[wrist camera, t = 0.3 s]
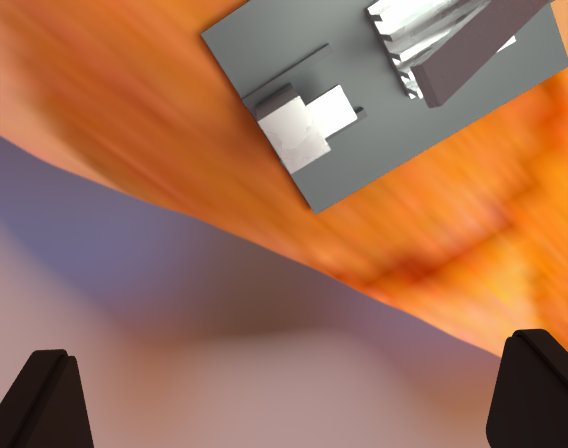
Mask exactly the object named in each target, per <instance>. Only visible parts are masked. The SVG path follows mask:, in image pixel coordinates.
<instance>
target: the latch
mask: <svg viewBox="0 0 568 448" xmlns="http://www.w3.org/2000/svg"><path fill="white" fill-rule="evenodd" d="M255 107H256V115H257V122H258V123H259V125H260V127H261V128H262V130H263V131H264V133H265V134H266V136H267V138H268V139H269V141H270V142H271V144H272V145H273V147H274V149H275V150H276V152H277V153H278V155H279V156H280V158H281V160H282V161H283V163H284V164H285V166H286V167H287V169H288V171H289V172H290V174H292V173H294V172H296V171H297V170H299V169H300V168H302V167H304V166H305V165H307V164H309V163H310V162H312V161H314V160H315V159H317V158H319V157H320V156H322V155H324V154H325V153H327V152H328V151H330V150H331V149H330V147H329V146H328V144H327V142H326V140H325V138H326V137H328V136H330V135H331V134H333V133H335V132H336V131H338V130H339V129H341V128H343V127H344V126H346V125H348V124H349V123H351V122H353V121H354V120H356V119H357V117H356V115H355V113H354V111H353V109H352V107H351V106H350V104H349V102H348V100H347V98H346V96H345V94H344V93H343V91H342V89H341V87H340V85H339V84H336V85H335V86H333V87H331V88H330V89H328V90H327V91H325V92H323V93H322V94H320V95H319V96H317V97H316V98H314V99H312V100H311V101H309V102H308V103H306V104H304V103H303V101H302V99H301V98H300V96H299V94H298V93H297V91H296V90H295V89H294V87H293V86H292V84H291V83H289V84H288V85H286V86H285V87H283V88H281V89H280V90H278V91H277V92H275V93H274V94H272V95H270V96H269V97H267V98H266V99H264V100H263V101H261V102H260V103H258V104H256V105H255Z"/></svg>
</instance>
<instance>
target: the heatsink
mask: <svg viewBox="0 0 568 448" xmlns="http://www.w3.org/2000/svg"><path fill="white" fill-rule="evenodd" d="M484 1H485V0H377V1H375V2H374V3H372V4H371V5H369V6H368V7H366V8H365V10H366V12H367V15H368V17H369V19H370V21H371V23H372V25H373V27H374V29H375V31H376V33H377V35H378V37H379V39H380V41H381V43H382V45H383V47H384V50H385V52H386V54H387V56H388V58H389V60H390V62H391V64H392V66H393V68H394V70H395V72H396V74H397V76H398V78H399V80H400V82H401V85H402V87H403V89H404V91H405V93H406V95H407V97H409V98H411V99H412V98H414V97H415V96H416V97H418V98H420V99H421V98H422V97H423V95H422V93H421V91H420V89H419V87H418V85H417V82H416V80H415V78H414V76H413V74H412V72H411V70H410V68H409V67H410V66H412V65H413V64H414V63H415V62H416V61H417V60H418V59H419V58H421V57H422V56H423V55H424V54H425V53H426V52H427V51H428V50H430V49H431V48H432V47H433V46H434V45H435V44H436V43H437V42H439V41H440V40H441V39H442V38H443V37H444V36H445V35H446V34H448V33H449V32H450V31H451V30H452V29H453V28H454V27H455V26H457V25H458V24H459V23H460V22H461V21H462V20H463V19H464V18H466V17H467V16H468V15H469V14H470V13H471V12H472V11H473V10H475V9H476V8H477V7H478V6H479V5H480V4H481V3H483V2H484ZM515 41H516V40H515V37H514V36H513V37H512V38H511V39H510V40H509V41H508V42H507V43H506V44H505V45H504V46H503V47H502V48H500V49H499V50H498V51H500V50H501V49H503V48H505V47H506V46H508V45H510V44H511V43H513V42H515ZM498 51H497V52H498ZM497 52H496V53H497Z"/></svg>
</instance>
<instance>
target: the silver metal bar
mask: <svg viewBox="0 0 568 448" xmlns="http://www.w3.org/2000/svg"><path fill="white" fill-rule="evenodd" d="M549 1H550V0H485V1H484V2H483V3H481V4H480V5H479V6H478V7H477V8H476V9H475V10H473V11H472V12H471V13H470V14H469V15H468V16H467V17H466V18H464V19H463V20H462V21H461V22H460V23H459V24H458V25H457V26H455V27H454V28H453V29H452V30H451V31H450V32H449V33H448V34H446V35H445V36H444V37H443V38H442V39H441V40H440V41H439V42H437V43H436V44H435V45H434V46H433V47H432V48H431V49H430V50H428V51H427V52H426V53H425V54H424V55H423V56H422V57H421V58H419V59H418V60H417V61H416V62H415V63H414V64H413V65H412V66H410V67H409V68H410V70H411V72H412V74H413V76H414V78H415V80H416V82H417V85H418V87H419V89H420V91H421V93H422V95H423V97H424V99H425V102H426V104H427V106H428V108H435V107H441V106H442V105H443V104H444V103H445V102H446V101H447V100H448V99H449V98H450V97H451V96H452V95H453V94H454V93H455V92H456V91H457V90H459V89H460V88H461V87H462V86H463V85H464V84H465V83H466V82H467V81H468V80H469V79H470V78H471V77H472V76H473V75H474V74H475V73H476V72H477V71H478V70H479V69H480V68H481V67H482V66H483V65H484V64H485V63H486V62H487V61H488V60H489V59H490V58H491V57H492V56H493V55H494V54H495V53H496V52H497V51H498V50H499V49H500V48H502V47H503V46H504V45H505V44H506V43H507V42H508V41H509V40H510V39H511V38H512V37H513V36H514V35H515V34H516V33H517V32H518V31H519V30H520V29H521V28H522V27H523V26H524V25H525V24H526V23H527V22H528V21H529V20H530V19H531V18H532V17H533V16H534V15H535V14H536V13H537V12H538V11H539V10H540V9H541V8H542V7H543V6H544V5H546V4H547V3H548V2H549Z"/></svg>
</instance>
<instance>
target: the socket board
mask: <svg viewBox="0 0 568 448" xmlns="http://www.w3.org/2000/svg"><path fill="white" fill-rule="evenodd" d="M375 1H377V0H250V1H248V2H247V3H246V4H244V5H243V6H241V7H240V8H238V9H237V10H235V11H234V12H232V13H231V14H229V15H228V16H226V17H225V18H223V19H222V20H221V21H219V22H218V23H216V24H215V25H213V26H212V27H210V28H209V29H207V30H206V31H204V32H203V33H201V36H202V37H203V39H204V41H205V42H206V44H207V45H208V47H209V48H210V50H211V52H212V53H213V55H214V56H215V58H216V59H217V61H218V63H219V64H220V66H221V67H222V69H223V70H224V72H225V74H226V75H227V77H228V78H229V80H230V81H231V83H232V84H233V86H234V88H235V89H236V91H237V92H238V94H239V95H240V97H241V101H242V103H243V104H244V106H245V107H246V108H248V110H249V111H250V113H251V114H252V116H253V117H254V119H255V121H256V122H257V115H256V107H255V105H256V104H258V103H260V102H261V101H263V100H264V99H266V98H267V97H269V96H270V95H272V94H274V93H275V92H277V91H278V90H280V89H281V88H283V87H285V86H286V85H288V84H289V83H291V84H292V86H293V87H294V89H295V90H296V91H297V93H298V94H299V96H300V98H301V99H302V101H303V103H304V104H306V103H308V102H309V101H311V100H312V99H314V98H316V97H317V96H319V95H320V94H322V93H323V92H325V91H327V90H328V89H330V88H331V87H333V86H335V85H336V84H339V85H340V87H341V89H342V91H343V93H344V94H345V96H346V98H347V100H348V102H349V104H350V106H351V107H352V109H353V111H354V113H355V115H356V117H357V119H356V120H354V121H353V122H351V123H349V124H348V125H346V126H344V127H343V128H341V129H339V130H338V131H336V132H335V133H333V134H331V135H330V136H328V137H326V138H325V140H326V142H327V144H328V146H329V147H330V149H331V150H330V151H328V152H327V153H325V154H324V155H322V156H320V157H319V158H317V159H315V160H314V161H312V162H310V163H309V164H307V165H305V166H304V167H302V168H300V169H299V170H297V171H296V172H294V173H292V174H290V172H289V171H288V169H287V167H286V166H285V164H284V163H283V161H282V160H281V158H280V156H279V155H278V153H277V152H276V150H275V149H274V147H273V145H272V144H271V142H270V141H269V139H268V138H267V136H266V134H265V133H264V131H263V130H262V128H261V127H260V125H259V123H258V122H257V124H258V125H259V127H260V128H261V130H262V132H263V133H264V135H265V136H266V138H267V139H268V141H269V143H270V144H271V146H272V147H273V149H274V150H275V152H276V153H277V155H278V157H279V160H280V162H281V164H282V165H283V167H285V168H286V169H287V171H288V172H289V174H290V175H291V177H292V179H293V180H294V182H295V183H296V185H297V186H298V188H299V190H300V191H301V193H302V194H303V196H304V197H305V199H306V201H307V202H308V204H309V205H310V207H311V208H312V210H313V212H314V213H315V215H316V214H318V213H320V212H321V211H323V210H325V209H326V208H328V207H330V206H332V205H333V204H335V203H337V202H338V201H340V200H342V199H343V198H345V197H347V196H349V195H350V194H352V193H354V192H355V191H357V190H359V189H360V188H362V187H364V186H366V185H367V184H369V183H371V182H372V181H374V180H376V179H377V178H379V177H381V176H383V175H384V174H386V173H388V172H389V171H391V170H393V169H395V168H396V167H398V166H400V165H401V164H403V163H405V162H406V161H408V160H410V159H412V158H413V157H415V156H417V155H418V154H420V153H422V152H423V151H425V150H427V149H429V148H430V147H432V146H434V145H435V144H437V143H439V142H440V141H442V140H444V139H446V138H447V137H449V136H451V135H452V134H454V133H456V132H457V131H459V130H461V129H463V128H464V127H466V126H468V125H469V124H471V123H473V122H475V121H476V120H478V119H480V118H481V117H483V116H485V115H486V114H488V113H490V112H492V111H493V110H495V109H497V108H498V107H500V106H502V105H503V104H505V103H507V102H509V101H510V100H512V99H514V98H515V97H517V96H519V95H520V94H522V93H524V92H526V91H527V90H529V89H531V88H532V87H534V86H536V85H537V84H539V83H541V82H543V81H544V80H546V79H548V78H549V77H551V76H553V75H555V74H556V73H558V72H560V71H561V70H563V69H565V68H566V67H568V57H567V54H566V51H565V48H564V45H563V42H562V39H561V36H560V33H559V29H558V26H557V23H556V20H555V17H554V14H553V11H552V8H551V5H550V3H551V2H553V1H554V0H550V1H549V2H548V3H547V4H546V5H544V6H543V7H542V8H541V9H540V10H539V11H538V12H537V13H536V14H535V15H534V16H533V17H532V18H531V19H530V20H529V21H528V22H527V23H526V24H525V25H524V26H523V27H522V28H521V29H520V30H519V31H518V32H517V33H516V34H515V35H514V37H515V40H516V41H515V42H513V43H511V44H510V45H508V46H506V47H505V48H503V49H501V50H500V51H498V52H497V53H495V54H494V55H493V56H492V57H491V58H490V59H489V60H488V61H487V62H486V63H485V64H484V65H483V66H482V67H481V68H480V69H479V70H478V71H477V72H476V73H475V74H474V75H473V76H472V77H471V78H470V79H469V80H468V81H467V82H466V83H465V84H464V85H463V86H462V87H461V88H460V89H459V90H457V91H456V92H455V93H454V94H453V95H452V96H451V97H450V98H449V99H448V100H447V101H446V102H445V103H444V104H443V105H442V106H441V107H435V108H428V106H427V104H426V102H425V99H424V97H422V98H421V99H420V98H418V97H416V96H415V97H414V98H412V99H411V98H409V97H407V95H406V93H405V91H404V89H403V87H402V85H401V82H400V80H399V78H398V76H397V74H396V72H395V70H394V68H393V66H392V64H391V62H390V60H389V58H388V56H387V54H386V52H385V50H384V47H383V45H382V43H381V41H380V39H379V37H378V35H377V33H376V31H375V29H374V27H373V25H372V23H371V21H370V19H369V17H368V15H367V12H366V10H365V8H366V7H368V6H369V5H371V4H372V3H374V2H375Z"/></svg>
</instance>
